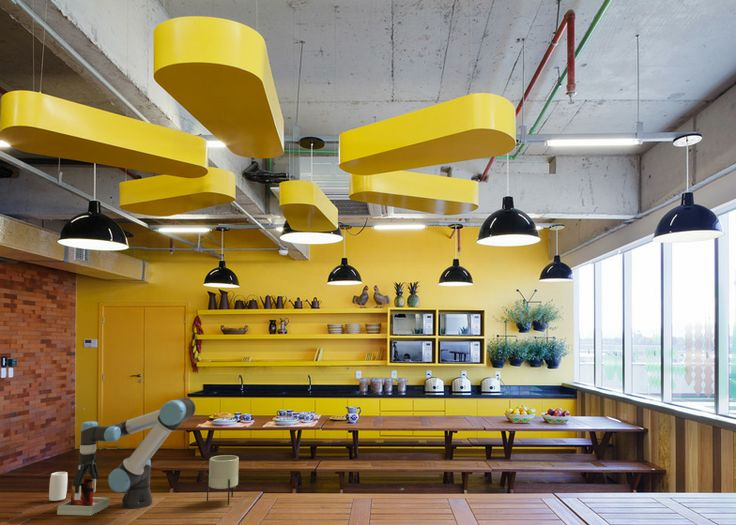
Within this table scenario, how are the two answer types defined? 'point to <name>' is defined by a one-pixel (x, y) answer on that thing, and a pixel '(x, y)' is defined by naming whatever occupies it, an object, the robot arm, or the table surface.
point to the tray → (83, 507)
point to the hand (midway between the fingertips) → (85, 495)
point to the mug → (83, 494)
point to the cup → (58, 486)
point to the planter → (223, 473)
